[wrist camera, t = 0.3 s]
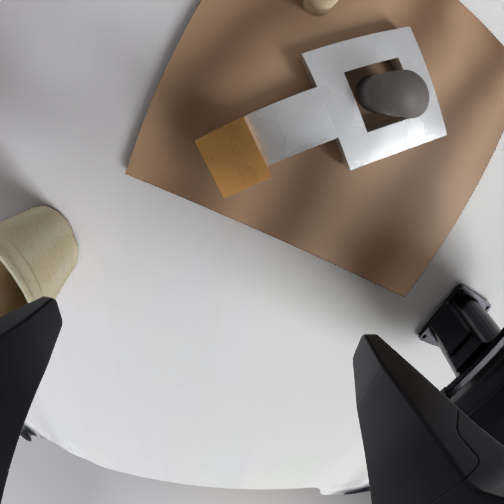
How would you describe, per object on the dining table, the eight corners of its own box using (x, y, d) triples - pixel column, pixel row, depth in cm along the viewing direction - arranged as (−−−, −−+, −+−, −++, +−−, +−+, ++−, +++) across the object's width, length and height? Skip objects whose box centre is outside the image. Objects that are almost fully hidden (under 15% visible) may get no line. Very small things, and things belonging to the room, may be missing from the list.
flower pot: (6, 178, 18) (-68, 221, 10) (96, 191, 19) (21, 247, 11) (19, 275, 22) (-33, 332, 15) (100, 299, 23) (55, 375, 15)
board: (518, 72, 13) (562, 77, 9) (400, 291, 22) (426, 333, 18) (275, -95, 9) (280, -135, 4) (129, 170, 18) (93, 194, 14)
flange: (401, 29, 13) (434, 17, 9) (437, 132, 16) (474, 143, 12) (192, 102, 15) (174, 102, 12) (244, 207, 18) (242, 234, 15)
